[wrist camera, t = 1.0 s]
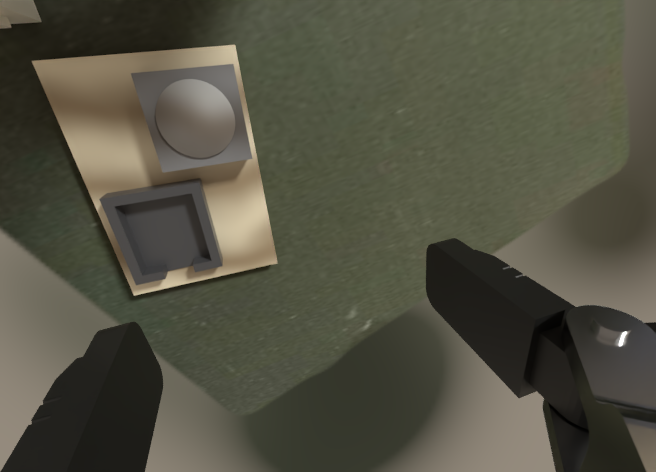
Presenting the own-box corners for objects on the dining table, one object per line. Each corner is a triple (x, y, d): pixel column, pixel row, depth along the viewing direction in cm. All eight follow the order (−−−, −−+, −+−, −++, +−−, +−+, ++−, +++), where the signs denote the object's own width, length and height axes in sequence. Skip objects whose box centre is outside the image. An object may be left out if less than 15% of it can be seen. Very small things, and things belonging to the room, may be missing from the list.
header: (106, 193, 27) (99, 198, 25) (200, 178, 28) (198, 182, 27) (140, 276, 30) (136, 285, 29) (222, 258, 32) (222, 266, 30)
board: (42, 62, 24) (8, 56, 20) (234, 47, 27) (235, 39, 23) (137, 287, 32) (126, 312, 28) (275, 256, 35) (281, 275, 31)
